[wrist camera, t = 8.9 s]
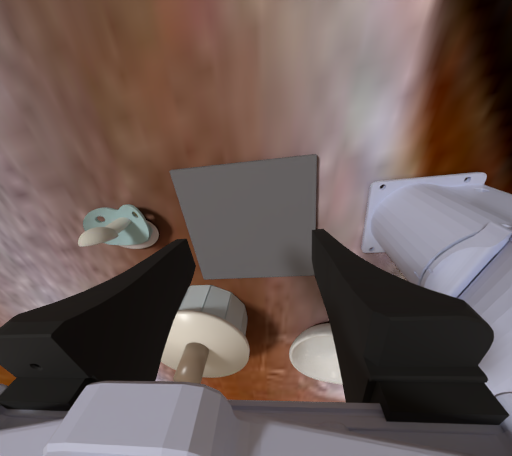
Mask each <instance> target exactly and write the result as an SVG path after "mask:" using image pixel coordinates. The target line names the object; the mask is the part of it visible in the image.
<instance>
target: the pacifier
mask: <svg viewBox="0 0 512 456" xmlns="http://www.w3.org/2000/svg"><path fill="white" fill-rule="evenodd" d="M97 216H102V217H104V218H105V222H101V221H99V220H98V219H97ZM83 227H84V230H85V232H84V233H83V234H82V235H81V236H80V237H79V240H78V245H79V246H81V247H84V246H92V245H96V244H100V243H106V244H111V245H120V246H122V247H126V248H131V249H141V248H146V247H149V246H151V245H153V244H154V243H155V242H156V241H157V240H158V237H159V233H158V229H157V228H156V227H155V226H154V225H153V224H152V223H151V222H149V221H147V220H146V219H145V217H144V216H143V214H142V213H141V212H140V211H139V210H138V209H137V208H136V207H135V206H133V205H130V204H127V205H123V206H121V207H120V208H119V210H116V209H113V208H99V209H96V210H93V211H91V212H90V213H88V214H87V215H86V217H85V218H84V221H83ZM149 236H150V237H149Z"/></svg>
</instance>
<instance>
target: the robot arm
mask: <svg viewBox="0 0 512 456" xmlns="http://www.w3.org/2000/svg"><path fill="white" fill-rule="evenodd" d="M467 177H468V178H467ZM465 178H467V180H466V181H464V180H465ZM486 178H487V175H486V174H485V173H482V172H474V173H463V174H452V175H441V176H430V177H419V178H408V179H397V180H386V181H376V182H373V183H372V184H371V185H370V190H369V197H368V204H367V211H366V218H365V225H364V232H363V239H362V246H361V250H362V251H363V252H364V253H379V252H386V253H387V255H388V256H389V257H390V259H391V260H392V261H393V262H394V264H395V265H396V266H397V268H398V269H399V270H400V271H401V273H402V274H403V275H404V276H405V278H406V279H407V280H408V281H406V280H404V279H401V278H399V277H397V276H395V275H392V274H390V273H388V272H386V271H384V270H382V269H380V268H378V267H376V266H374V265H373V264H371V263H369V262H367V261H365V260H364V259H362V258H361V257H359V256H358V255H356V254H355V253H353V252H352V251H350V250H349V249H347V248H346V247H345V246H343V245H342V244H341V243H340V242H338V241H337V240H336V239H335V238H333V237H332V236H331V235H330V234H329V233H328V232H326V231H325V230H324V229H317V230H312V264H313V269H314V274H315V278H316V281H317V284H318V287H319V290H320V293H321V296H322V299H323V302H324V305H325V308H326V311H327V314H328V318H329V322H330V326H331V331H332V335H333V340H334V344H335V349H336V354H337V358H338V363H339V368H340V373H341V378H342V383H343V389H344V394H345V399H346V403H342V402H298V401H255V400H227V399H226V398H225V397H224V396H223V395H222V393H221V392H220V391H218V390H216V389H213V388H211V387H209V386H206V385H204V384H198V383H191V382H169V381H155V380H156V377H157V373H158V369H159V365H160V362H161V358H162V355H163V351H164V348H165V345H166V342H167V338H168V336H169V333H170V330H171V327H172V324H173V321H174V319H175V316H176V314H177V312H178V310H179V307H180V305H181V303H182V301H183V299H184V297H185V294H186V292H187V290H188V288H189V286H190V283H191V281H192V278H193V275H194V271H195V267H196V265H195V262H194V259H193V256H192V253H191V250H190V247H189V244H188V241H187V239H177V240H175V241H173V242H171V243H170V244H168V245H166V246H165V247H163V248H162V249H160V250H159V251H157V252H156V253H154V254H153V255H151V256H150V257H148V258H147V259H145V260H143V261H142V262H140V263H138V264H137V265H135V266H134V267H132V268H130V269H129V270H127V271H125V272H123V273H121V274H120V275H118V276H116V277H114V278H112V279H110V280H108V281H106V282H104V283H101V284H99V285H97V286H95V287H93V288H90V289H88V290H86V291H84V292H81V293H79V294H76V295H74V296H71V297H68V298H66V299H63V300H60V301H58V302H55V303H52V304H49V305H46V306H43V307H40V308H36V309H33V310H30V311H27V312H24V313H21V314H18V315H16V316H15V317H13V318H12V319H10V320H9V321H8V322H7V323H5V324H4V325H3V326H2V327H0V365H1V366H2V367H4V368H5V369H6V370H8V371H9V372H10V373H11V374H13V375H14V376H15V377H17V378H16V379H15V380H14V381H13V382H12V383H11V384H10V385H9V386H7V385H4V384H0V456H512V195H511V194H509V193H506V192H503V191H500V190H497V189H494V188H491V187H489V186H486V185H484V183H485V180H486ZM383 184H384V187H383V188H381V189H380V186H381V185H383ZM372 247H373V248H372ZM370 248H372V249H370Z"/></svg>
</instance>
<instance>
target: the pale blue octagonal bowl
mask: <svg viewBox="0 0 512 456" xmlns="http://www.w3.org/2000/svg"><path fill="white" fill-rule="evenodd" d="M179 310H194V311H201V312H206V313H209V314H213V315H216V316H218V317H220V318H223V319H225V320H226V321H228V322H230V323H231V324H233V325H234V326H236V327H237V328H238V329H239V330H240V331H241V332H242V333H243V334H244V336H245V335H246V328H247V320H248V318H247V313H246V308H245V306H244V304H243V303H242V302H241V301H240V300H239V299H238V298H237V297H236V296H235V295H234V294H233V293H231V292H229V291H226V290H223V289H221V288H218V287H215V286H211V285H197V286H189V288H188V290H187V292H186V294H185V297H184V299H183V301H182V303H181V305H180V307H179Z"/></svg>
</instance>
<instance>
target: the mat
mask: <svg viewBox="0 0 512 456" xmlns="http://www.w3.org/2000/svg"><path fill="white" fill-rule="evenodd" d="M316 170H317V155H316V154H312V155H303V156H294V157H285V158H276V159H267V160H258V161H249V162H240V163H231V164H221V165H212V166H203V167H194V168H185V169H176V170H171V171H170V174H171V178H172V181H173V184H174V187H175V190H176V193H177V196H178V199H179V203H180V206H181V209H182V212H183V215H184V218H185V221H186V225H187V228H188V231H189V234H190V237H191V240H192V243H193V247H194V250H195V253H196V256H197V259H198V262H199V265H200V269H201V272H202V275H203V278H204V279H228V278H256V277H284V276H312V275H315V274H314V269H313V264H312V230H316Z"/></svg>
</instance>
